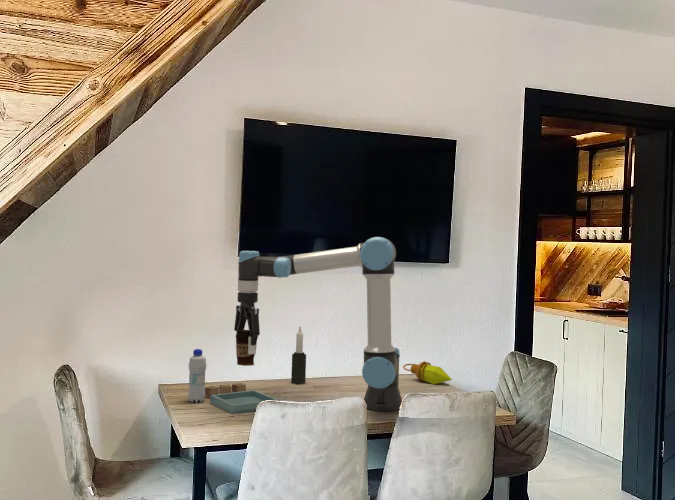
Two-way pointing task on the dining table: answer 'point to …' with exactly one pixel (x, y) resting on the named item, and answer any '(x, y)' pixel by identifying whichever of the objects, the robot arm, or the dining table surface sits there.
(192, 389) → the bottle
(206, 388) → the walnut block
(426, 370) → the plumb bob
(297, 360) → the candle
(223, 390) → the walnut block
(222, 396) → the tray
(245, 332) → the coffee cup
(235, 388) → the walnut block
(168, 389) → the dining table surface
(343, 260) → the robot arm
